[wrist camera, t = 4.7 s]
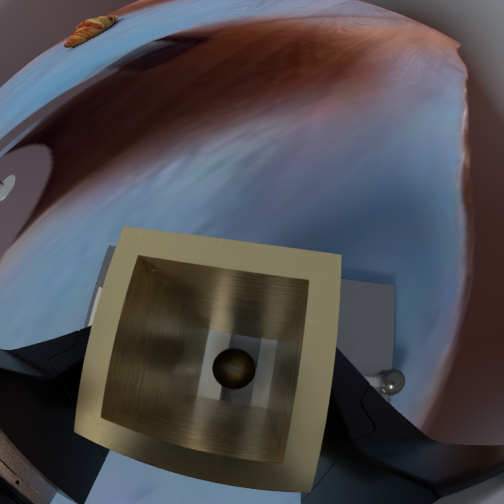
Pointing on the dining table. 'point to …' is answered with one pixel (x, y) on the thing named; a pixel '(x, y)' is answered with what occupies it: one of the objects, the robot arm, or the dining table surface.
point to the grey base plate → (263, 351)
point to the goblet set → (7, 186)
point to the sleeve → (193, 350)
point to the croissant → (90, 29)
